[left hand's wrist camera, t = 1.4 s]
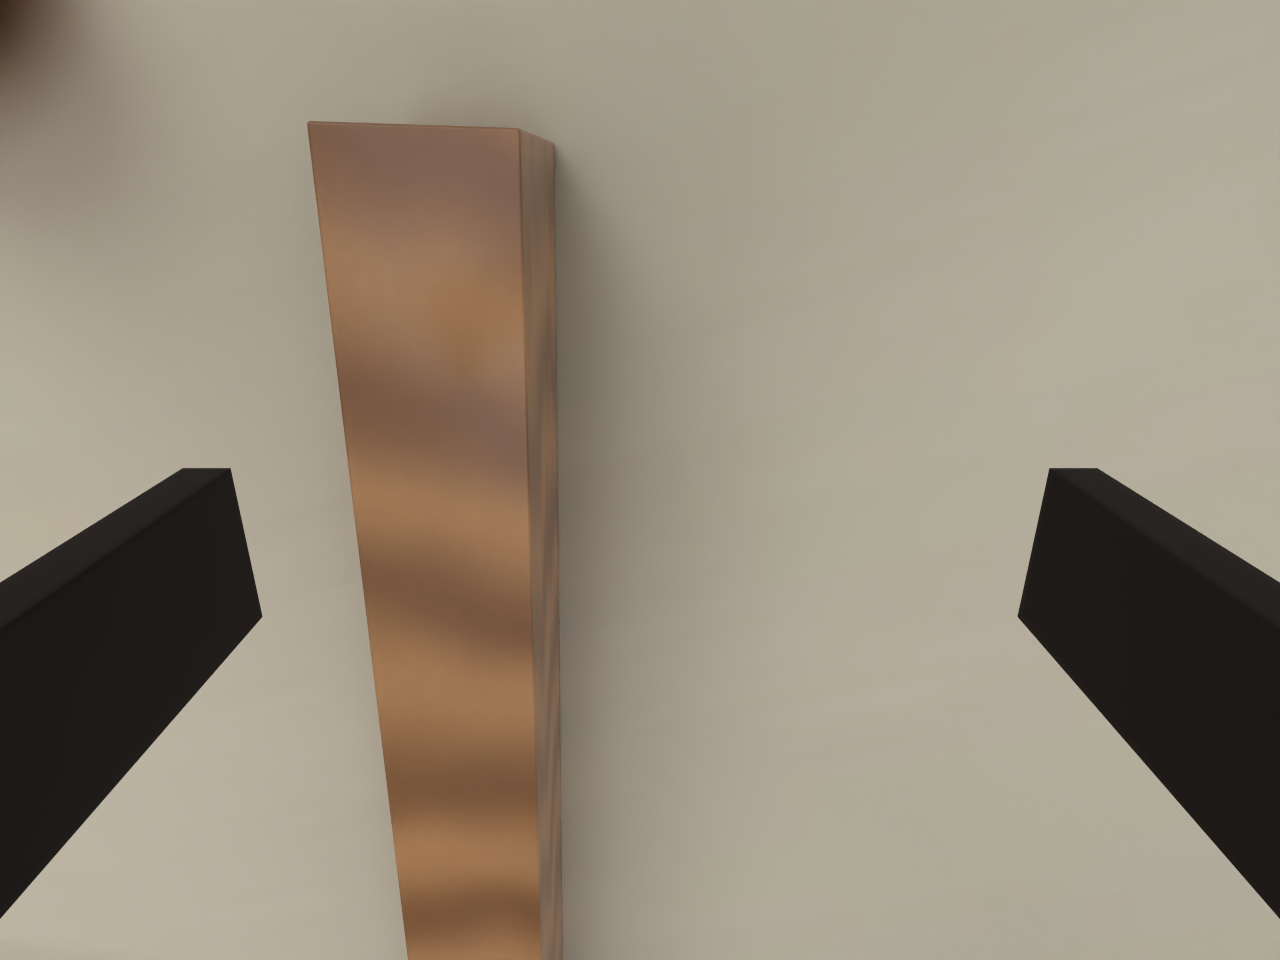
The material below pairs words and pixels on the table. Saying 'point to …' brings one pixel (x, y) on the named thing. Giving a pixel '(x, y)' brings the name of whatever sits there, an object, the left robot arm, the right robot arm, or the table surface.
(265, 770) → the table surface
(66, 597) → the left robot arm
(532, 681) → the beam
